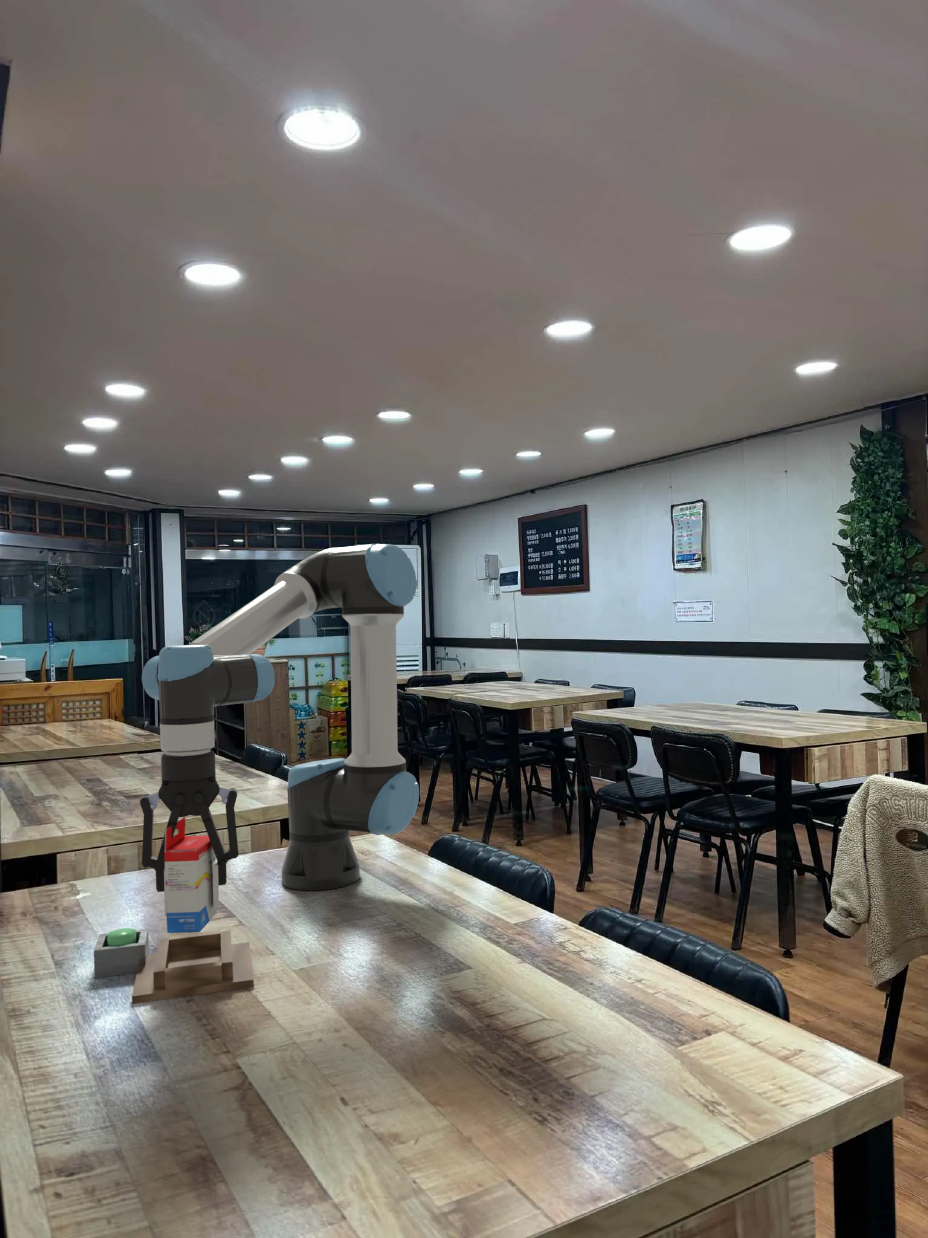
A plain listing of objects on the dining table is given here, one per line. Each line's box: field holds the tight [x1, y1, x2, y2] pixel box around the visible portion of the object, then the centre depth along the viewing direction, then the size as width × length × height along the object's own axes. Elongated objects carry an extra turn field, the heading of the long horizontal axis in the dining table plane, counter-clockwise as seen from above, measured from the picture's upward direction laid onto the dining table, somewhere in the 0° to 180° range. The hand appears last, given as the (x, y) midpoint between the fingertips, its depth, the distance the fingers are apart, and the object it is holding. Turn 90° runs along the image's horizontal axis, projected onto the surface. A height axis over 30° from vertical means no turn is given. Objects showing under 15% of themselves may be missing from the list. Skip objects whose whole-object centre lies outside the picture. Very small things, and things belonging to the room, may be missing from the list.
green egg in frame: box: [93, 928, 150, 979], centre depth 133 cm, size 7×7×4 cm
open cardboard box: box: [131, 929, 255, 1005], centre depth 129 cm, size 16×15×4 cm
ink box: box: [164, 817, 218, 934], centre depth 129 cm, size 8×5×15 cm, turn 179°
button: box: [106, 927, 137, 947], centre depth 133 cm, size 4×4×3 cm
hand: (192, 910), depth 129 cm, fingers closed on ink box, 6 cm apart
